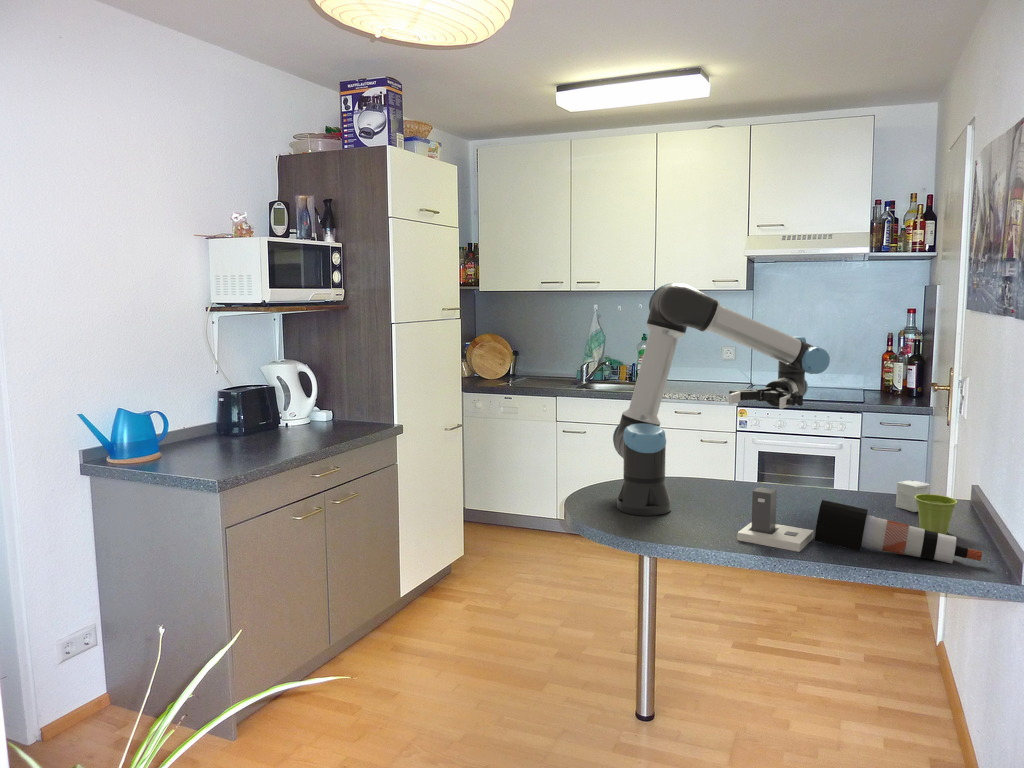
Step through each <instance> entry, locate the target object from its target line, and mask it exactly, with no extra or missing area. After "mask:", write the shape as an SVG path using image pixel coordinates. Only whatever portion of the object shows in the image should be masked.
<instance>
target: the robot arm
mask: <svg viewBox="0 0 1024 768" xmlns="http://www.w3.org/2000/svg"><path fill="white" fill-rule="evenodd" d="M648 302H649V303H648V310H649V313H648V316H647V321H646V326H647V328H648V330H649V334H648V337H647V341H646V345H645V349H644V353H643V356H642V360H641V362H640V367H639V370H638V375H637V378H636V381H635V384H634V390H633V392H632V397H631V400H630V403H629V406H628V409H626V410H625V411H623V412H622V414H621V418H620V421H619V424H617V426H616V427H615V429H614V431H613V435H612V441H613V446H614V449H615V451H616V452H617V454H618V455H619V456H620V457H621V458H622V459H623V480H622V481H623V482H622V484H621V488H620V489H619V493H618V497H617V500H616V508H617V510H619V512H623V513H625V514H629V515H636V516H645V517H647V516H660V515H664V514H667V513H669V512H671V511H672V501H671V498H670V494H669V492H668V491H669V490H668V487H667V485H666V452H667V451H666V448H667V447H666V445H667V438H666V437H667V436H666V431H665V430H664V429H663V428H662V427H660V426H661V421H660V419H659V418H658V414H659V411H660V410H659V409H660V406H661V403H662V399H663V396H664V392H665V388H666V385H667V381H668V377H669V374H670V371H671V368H672V367H671V366H672V363H673V360H674V356H675V352H676V348H677V345H678V341H679V339H680V338H681V337H683V336H684V335H686V333H687V329H688V328H692V329H695V330H698V331H700V332H707V331H709V332H712V333H713V334H717V335H719V336H720V337H723V338H726V339H727V340H729V341H732V342H735V343H737V344H739V345H741V346H745V347H747V348H749V349H751V350H754V351H756V352H758V353H760V354H763V355H765V356H768V357H770V358H772V359H774V360H777V361H778V364H777V365H778V369H777V372H778V373H777V379H775V380H772V381H770V382H769V383H767V384H766V385H765V387H764V388H753V387H752V388H748V389H737V390H736V389H735V390H734V389H733V390H732V389H730V390H729V391H728V404H729V405H734V404H738V403H739V402H741V401H757V402H766V403H767V404H768V405H770V406H773V407H775V408H779V409H781V410H783V409H785V408H787V407H789V406H796V405H797V406H799V407H803V405H804V396H806V394H807V393H808V390H809V384H808V381H807V380H806V373H807V374H809V375H819V374H822V373H823V372H825V371H826V370H827V369H828V368H829V366H830V362H831V357H830V355H829V352H828V350H826V349H824V348H822V347H820V346H815V345H811V343H808V342H807V338H806V337H805V336H801V335H799V336H798V335H797V336H796V335H793V336H792V335H789V334H787V333H785V332H782V331H780V330H778V329H775V328H773V327H771V326H769V325H767V324H764V323H762V322H760V321H757V320H755V319H752V318H750V317H748V316H745V315H744V314H741V313H739V312H737V311H734V310H732V309H729V308H727V307H724V306H723V305H720V302H719V300H718V299H716V298H714V297H712V296H709V295H708V294H706V293H704V292H702V291H701V290H698V289H697V288H695V287H693V286H691V285H689V284H687V283H666V284H663V285H661V286H660V287H658V288H656V289H655V290H654V291H653V293H651V296H650V298H649V300H648Z"/></svg>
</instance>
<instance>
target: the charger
mask: <svg viewBox="0 0 1024 768" xmlns="http://www.w3.org/2000/svg"><path fill="white" fill-rule="evenodd" d="M777 491H778V490H777V489H775V488H768V487H767V488H766V487H760V486H758V487H756V488H755V489H753V490H752V496H751V498H752V500H751V501H752V504H751V505H752V506H751V522H752V531H755V532H760V533H766V534H771V535H772V534H773V533H774V532H775V526H776V524H777V522H776V520H777V519H776V518H777V493H778V492H777Z"/></svg>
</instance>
